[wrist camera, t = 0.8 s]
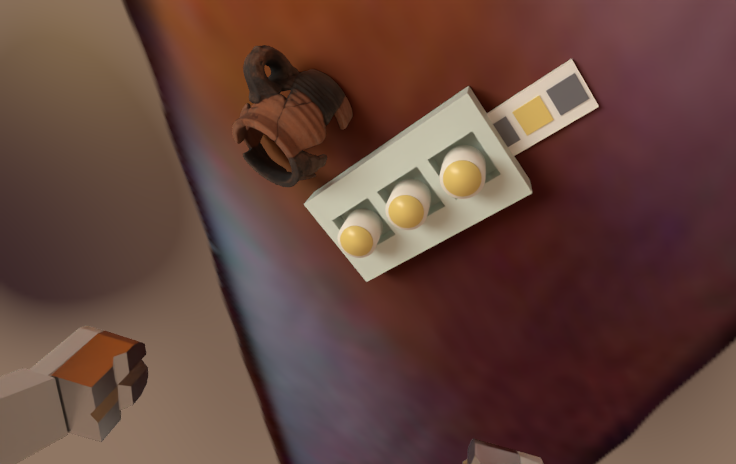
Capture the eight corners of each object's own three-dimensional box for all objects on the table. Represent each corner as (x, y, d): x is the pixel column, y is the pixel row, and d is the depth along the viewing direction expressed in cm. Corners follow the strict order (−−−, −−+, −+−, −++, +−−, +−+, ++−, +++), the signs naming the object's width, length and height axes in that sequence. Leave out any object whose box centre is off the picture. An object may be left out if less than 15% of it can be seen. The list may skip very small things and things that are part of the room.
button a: (470, 136, 39) (469, 148, 36) (493, 171, 40) (494, 185, 37) (434, 159, 41) (430, 172, 38) (457, 192, 42) (455, 207, 39)
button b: (416, 171, 41) (410, 184, 39) (439, 203, 42) (435, 218, 40) (383, 191, 43) (376, 205, 40) (406, 222, 44) (401, 238, 41)
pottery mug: (375, 141, 44) (324, 198, 40) (307, 142, 51) (257, 192, 46) (317, 14, 37) (248, 68, 33) (246, 33, 44) (181, 81, 40)
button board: (468, 85, 40) (467, 93, 37) (529, 180, 42) (532, 193, 40) (313, 192, 48) (303, 204, 45) (373, 266, 50) (366, 281, 48)
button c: (367, 201, 44) (359, 216, 41) (390, 231, 45) (383, 247, 42) (338, 220, 46) (329, 235, 43) (361, 248, 46) (353, 265, 44)
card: (571, 58, 37) (572, 59, 37) (598, 105, 38) (599, 106, 38) (471, 123, 41) (471, 124, 41) (498, 163, 42) (498, 165, 42)
